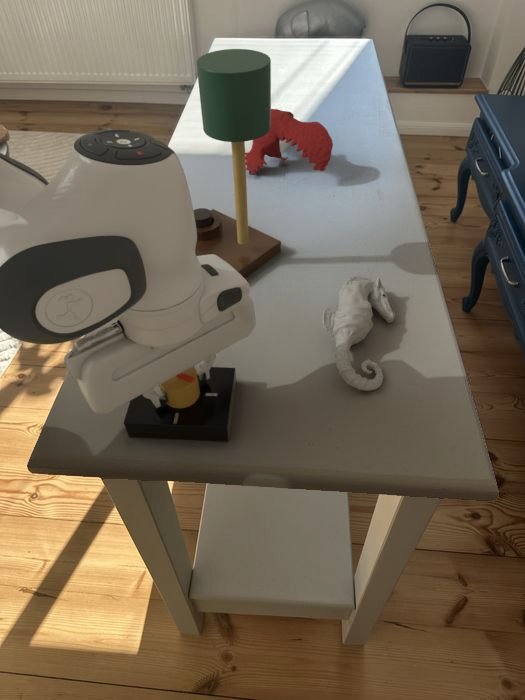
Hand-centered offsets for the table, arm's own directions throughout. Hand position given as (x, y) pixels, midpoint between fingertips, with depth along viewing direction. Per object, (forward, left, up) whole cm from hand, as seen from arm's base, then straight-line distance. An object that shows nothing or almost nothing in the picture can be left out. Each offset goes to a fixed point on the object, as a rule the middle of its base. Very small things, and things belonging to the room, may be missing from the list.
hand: (181, 389), depth 57 cm
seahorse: (+10, +24, -4) cm, 26 cm away
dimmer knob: (0, 0, -1) cm, 1 cm away
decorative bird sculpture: (-33, +56, -4) cm, 65 cm away
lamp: (-15, +27, 0) cm, 31 cm away
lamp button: (-24, +27, 0) cm, 36 cm away
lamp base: (-19, +27, -4) cm, 33 cm away
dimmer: (0, 0, -4) cm, 4 cm away
